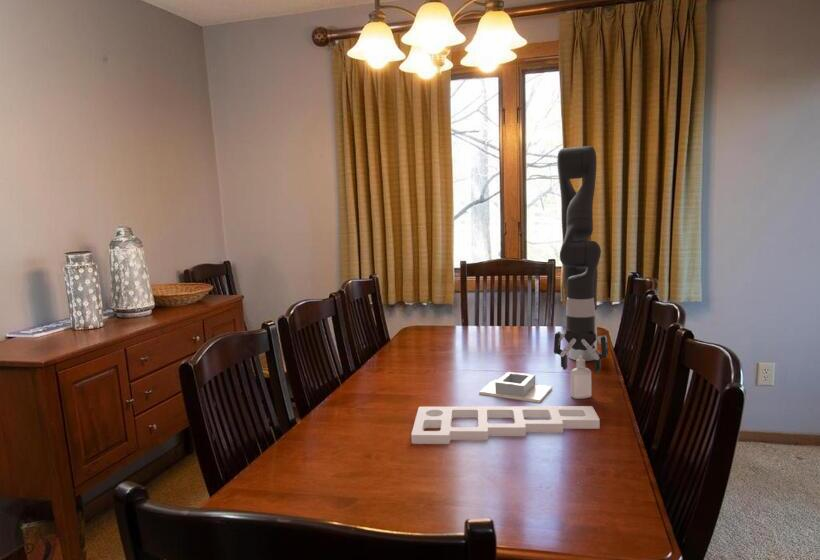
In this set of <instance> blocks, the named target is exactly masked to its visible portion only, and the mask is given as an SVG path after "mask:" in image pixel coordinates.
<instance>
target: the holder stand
mask: <svg viewBox="0 0 820 560" xmlns="http://www.w3.org/2000/svg"><path fill="white" fill-rule="evenodd" d="M552 390H553V386H550V385H542V384H536V374H529V373H522V372H513V371H507V372H506V373H505V374H503V375H502V376H501V377H500V378H498V379H496V378H495V379H492V381H490V382H489V383H487V385H485V386H484V387H483V388H481V390H479V392H478V393H479V395H481V396H483V395H484V396H489V397H490V396H491V397H497V398H502V399H510V400H517V401H518V400H519V401H524V402H532V403H537V404H541V403H542V401H543V400H544V399H545V398H546V397H547V396H548V395H549V393H550V392H551V391H552Z"/></svg>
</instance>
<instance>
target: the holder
mask: <svg viewBox="0 0 820 560" xmlns="http://www.w3.org/2000/svg"><path fill="white" fill-rule="evenodd" d="M595 410H596V409H594V407H593V405H589V406H588V405H585V406H584V405H581V406H580V405H579V406H578V405H577V406H575V405H571V406H569V405H565V406H564V405H559V406H555V405H554V406H551V405H549V406H548V405H546V406H545V405H542V406H541V405H540V406H539V405H538V406H537V405H535V406H529V405H528V406H526V405H525V406H523V405H522V406H518V405H517V406H516V405H515V406H508V405H507V406H506V405H505V406H501V405H499V406H496V405H495V406H493V405H491V406H483V405H482V406H478V405H477V406H418V409H417V412H416V416H415V418H414V423H413V428H412V430H411V434H410V435H411V436H410V437H411V444H413V445H414V444H415V445H425V444H426V445H450V443H451V441H461V440H462V441H488V440H489V437H526V436H527V433H564V429H567V430H569V429H574V430H575V429H578V430H579V429H582V430H583V429H585V430H586V429H589V430H591V429H595V430H596V429H601V427H600V417H599V415H598V414H597V412H596V411H595ZM454 418H458V419H459V418H462V419H463V418H466V419H467V418H470V419H471V418H474V419H475V418H476V419H477V422H478V423H477V425H478V426H472V427H471V426H469V427H467V426H466V427H465V426H464V427H463V426H462V427H459V426H458V427H457V426H455V427H454V426H452V425H453V419H454ZM489 418H490V419H491V418H492V419H493V418H495V419H496V418H497V419H498V418H501V419H502V418H503V419H504V418H505V419H507V418H508V419H509V418H511V419H513V423H489V422H488V419H489ZM528 418H536V419H528ZM537 418H539V419H537ZM541 418H545V419H541ZM425 429H440V430H425Z"/></svg>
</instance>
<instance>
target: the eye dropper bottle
mask: <svg viewBox="0 0 820 560" xmlns="http://www.w3.org/2000/svg"><path fill="white" fill-rule="evenodd" d="M575 362H576V363H575V365H576V367H575V368H573V369H571V370H570V374H569V375H570V379H569V383H570V385H569V388H570V390H569V392H570V393H569V394H570V397H572V398H573V399H576V400H578V399H579V400H580V399H582V400H583V399H588V398H591V397H592V370H591V369H590V368H588V367H586V361H585V360H584V359H583V358H582V355H579V359H577V360H575Z"/></svg>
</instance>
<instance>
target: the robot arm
mask: <svg viewBox="0 0 820 560" xmlns="http://www.w3.org/2000/svg"><path fill="white" fill-rule="evenodd" d="M556 158H557V159H556V160H557V161H556V162H557V163H556V164H557V165H556V166H557V173H558V181H559V182H558V183H559V189H560V205H561V206H560V207H561V210H560V211H561V232H562V240H563V242H562V244H561V247H560V251H559V260H560V262H561V264H562V265H563V279H564V280H563V281H564V286H565V288H566V297H567V298H566V303H565V313H566V315H565V323H566V324H565V327H566V328H565V329H566V331H565V333H564V332H561V331H557V332H556V333H555V334H554V338H553V339H554V340H553V341H554V342H553V353H554V354H555V355H559V356H560V367H561V368H562V370H564V371H565V370H567V369H568V359H571V360H573V361H576V360H577V359H579V355H582V358H583V359H584V360H585V362H591V361H594V363H593V365H594V369H593V370H594V371H593V372H594V373H595V374H598V373H599V372H600V370H601V368H602V359H607V357H608V356H609V349H608V335H606V334H603V335H598V334H597V333H598V327H597V326H598V325H597V324H598V322H597V321H598V319H597V318H598V314H597V313H598V311H597V310H598V307H597V303H598V302H597V290H598V274H599V273H598V266H599V263H600V259H601V255H602V250H601V249H602V248H601V246H600V244H599V243H598V242H597V241H594V240H589V239H590V238H591V236H592V234H593V231H594V221H593V220H594V219H593V218H594V217H593V216H594V215H593V214H594V213H593V212H594V211H593V205H594V196H595V195H594V194H595V189H596V179H597V178H596V176H597V153H596V149H595V148H594V146H592V145H586V146H585V145H584V146H573V147H565V148H561V149H559V151H558V153H557V157H556ZM575 179H584V180H583V183H582V184H581V187H579V189H578V191H577V192H576V190H575V189H574V187H573V184H572V182H571V180H575ZM564 338H565V341H566V342H567V343H568V344H567V345H566V346H565V347H564V348H563V349H561V342H562V341H563V340H564ZM597 344H599V345H600V347H601V348H600V349H601V352H600V351H599V350H598V345H597ZM567 354H568V355H567Z"/></svg>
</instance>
